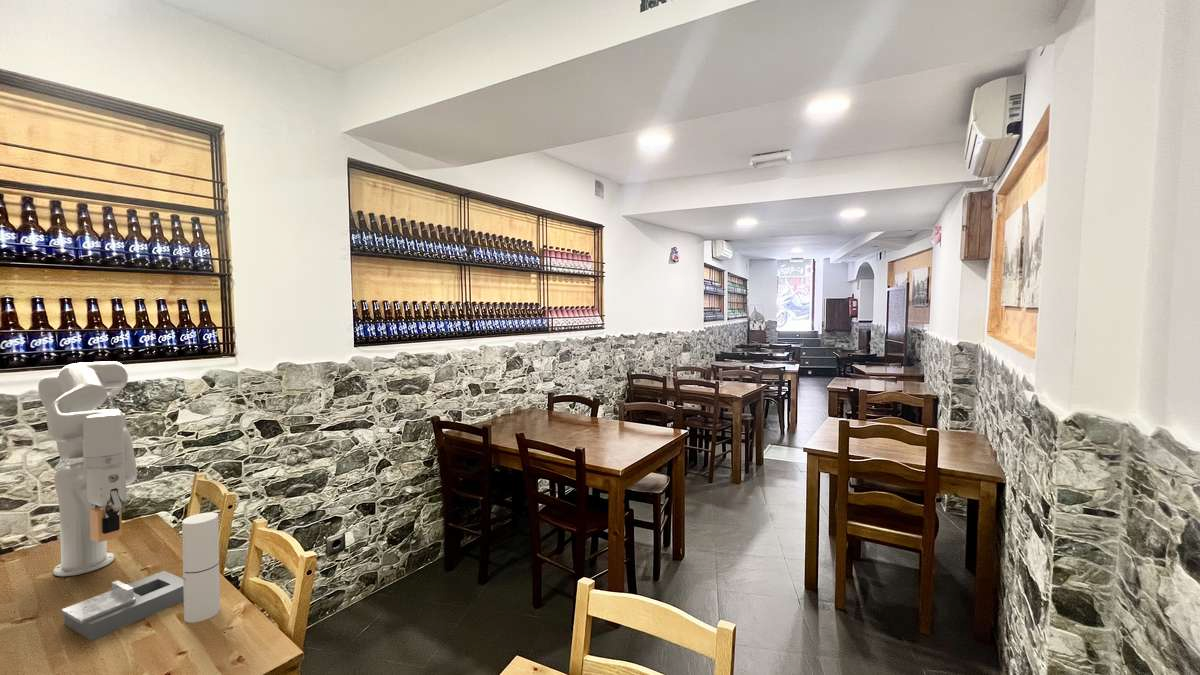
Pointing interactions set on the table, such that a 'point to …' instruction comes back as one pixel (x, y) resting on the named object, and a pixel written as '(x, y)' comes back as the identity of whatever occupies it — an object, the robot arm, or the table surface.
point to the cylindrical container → (201, 566)
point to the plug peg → (96, 525)
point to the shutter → (101, 603)
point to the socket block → (134, 605)
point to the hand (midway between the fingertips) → (106, 529)
